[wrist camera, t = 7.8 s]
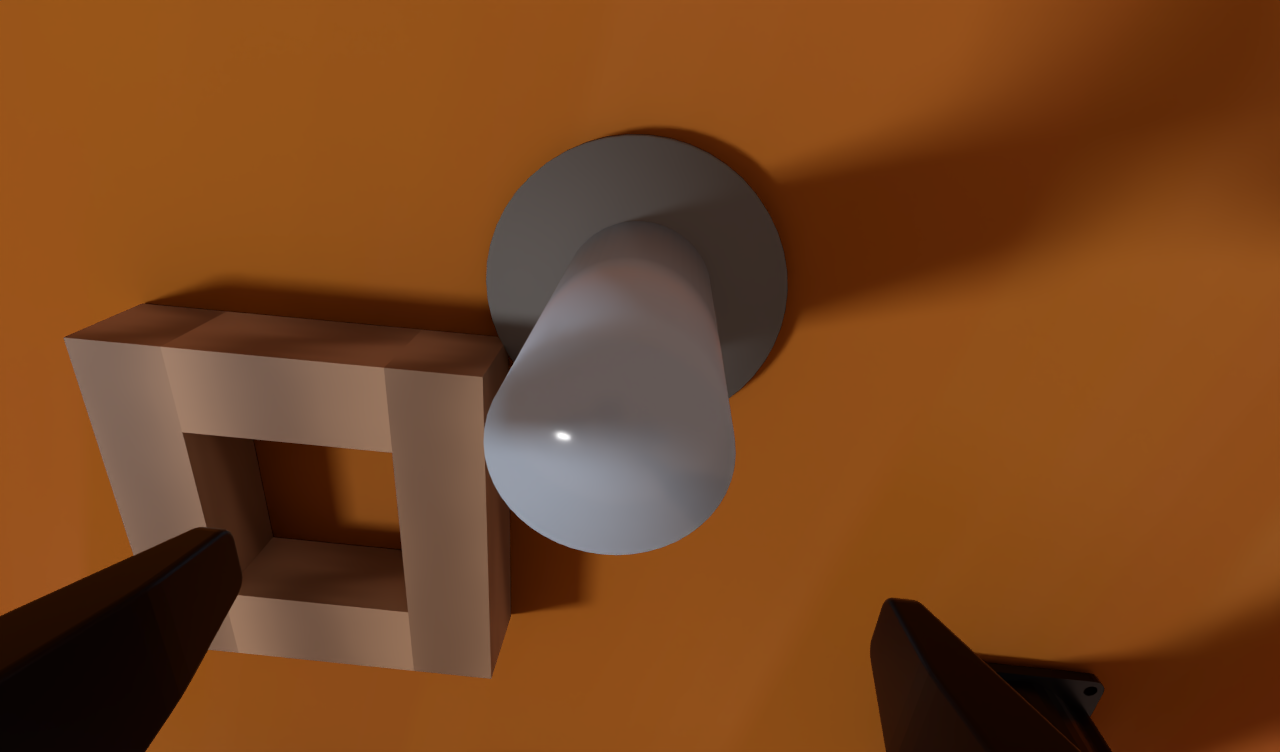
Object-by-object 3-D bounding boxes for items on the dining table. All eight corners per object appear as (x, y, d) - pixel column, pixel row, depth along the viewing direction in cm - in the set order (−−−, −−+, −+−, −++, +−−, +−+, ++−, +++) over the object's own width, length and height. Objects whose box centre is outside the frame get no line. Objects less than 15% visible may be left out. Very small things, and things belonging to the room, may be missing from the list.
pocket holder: (508, 337, 21) (482, 377, 18) (510, 615, 26) (491, 678, 23) (142, 303, 21) (63, 337, 19) (215, 585, 26) (162, 644, 24)
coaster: (810, 148, 18) (814, 151, 18) (759, 430, 22) (761, 439, 21) (488, 120, 18) (482, 122, 18) (494, 404, 22) (489, 413, 22)
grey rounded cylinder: (720, 228, 19) (753, 351, 10) (702, 368, 20) (717, 566, 12) (567, 214, 19) (480, 325, 10) (562, 355, 20) (485, 542, 12)
